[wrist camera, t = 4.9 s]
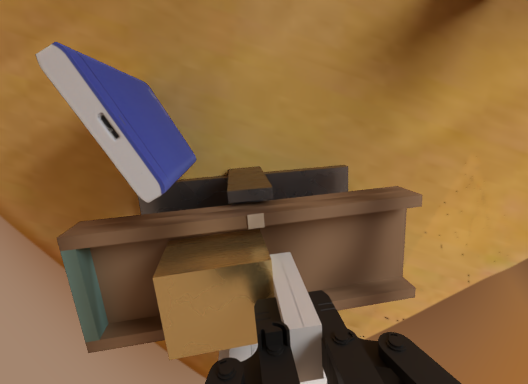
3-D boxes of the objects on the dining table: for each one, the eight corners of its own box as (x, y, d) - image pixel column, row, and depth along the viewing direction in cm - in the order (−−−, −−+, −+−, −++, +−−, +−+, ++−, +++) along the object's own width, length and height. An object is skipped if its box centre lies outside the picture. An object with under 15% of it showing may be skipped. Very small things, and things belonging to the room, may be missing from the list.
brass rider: (180, 307, 19) (169, 360, 15) (168, 240, 18) (152, 277, 14) (265, 293, 20) (278, 339, 16) (259, 228, 19) (271, 260, 15)
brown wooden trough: (119, 298, 23) (87, 354, 17) (98, 207, 21) (55, 237, 15) (373, 260, 26) (415, 298, 20) (376, 178, 24) (423, 194, 18)
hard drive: (145, 79, 24) (59, 37, 12) (198, 159, 26) (170, 190, 14) (130, 89, 24) (30, 56, 12) (184, 168, 26) (144, 206, 14)
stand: (156, 274, 29) (123, 339, 20) (138, 177, 26) (91, 204, 17) (344, 252, 30) (388, 303, 22) (344, 159, 28) (394, 175, 19)
